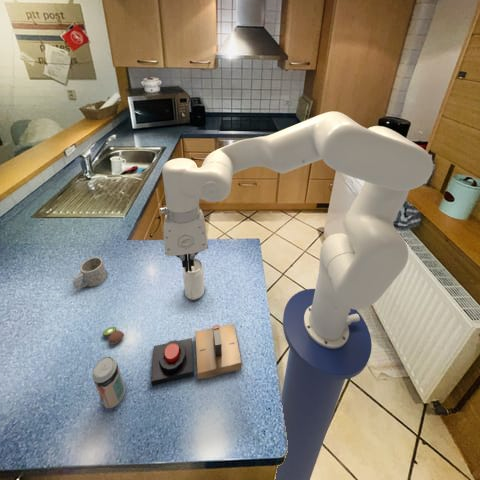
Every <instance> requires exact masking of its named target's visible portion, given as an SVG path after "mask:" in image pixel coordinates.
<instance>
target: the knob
mask: <svg viewBox="0 0 480 480" xmlns="http://www.w3.org/2000/svg"><path fill="white" fill-rule="evenodd" d="M219 327H220V325H219V324H213V325H212V328H213V340H214V348H215V356H216V357H219V356H222V343H221V337H220V330H219Z"/></svg>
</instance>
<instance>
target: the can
mask: <svg viewBox="0 0 480 480" xmlns="http://www.w3.org/2000/svg"><path fill="white" fill-rule="evenodd" d="M204 275H205V274H204V266H203V264H202V262H201V260H199V258H194V266H192V271H189V266H188V272H186V271H185V267H182V277H183V279H182V280H183V287H184V294H185V295H184V296H185V297H186V298H187V299H189V300H193V301H195V300H198V299H200V298H201V297H203V295H204V293H205V277H204Z"/></svg>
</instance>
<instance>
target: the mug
mask: <svg viewBox="0 0 480 480" xmlns="http://www.w3.org/2000/svg"><path fill="white" fill-rule="evenodd" d="M79 268H80V272H79V273H78V274H77V275H76V276H75V278H73V287H74V289H75V290H76V291H77V290H80V289H83V288H84V287H86V286H87V287H91V288H92V287H96V286H98V285H100V284H102V283H103V282H104V281H105V280H106V279H107V272H106V269H105V264H104V261H103V259H102V257H99V256H93V257H90V258H88V259H86V260H84V261H83V263H81V264H80V267H79ZM82 278H83V281H82V282H81V283H80V284H78V281H79V280H80V279H82Z"/></svg>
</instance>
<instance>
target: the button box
mask: <svg viewBox="0 0 480 480" xmlns="http://www.w3.org/2000/svg"><path fill="white" fill-rule="evenodd" d="M172 343H175V344H177V345H178V347H179V352H180V355H179V358H178V359H177V360H176V361H175V362H173V363H168V362H167V361H166V359H165V354H164V352H165V349H166V347H167V346H168V345H170V344H172ZM193 345H194V344H193V338H192V337H190V338H186V339H185V338H184V339H181V340H177V339H174V340H169V341H167V342H166V343H161V344H157V345H154V346H153V353H152V363H151V365H152V366H151V375H150V376H151V377H150V383H151V386H152V387H155V386H160V385H164V384H168V383H172V382H176V381H181V380H184V379H188V378H193V377H195V370H194V348H193V347H194V346H193Z"/></svg>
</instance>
